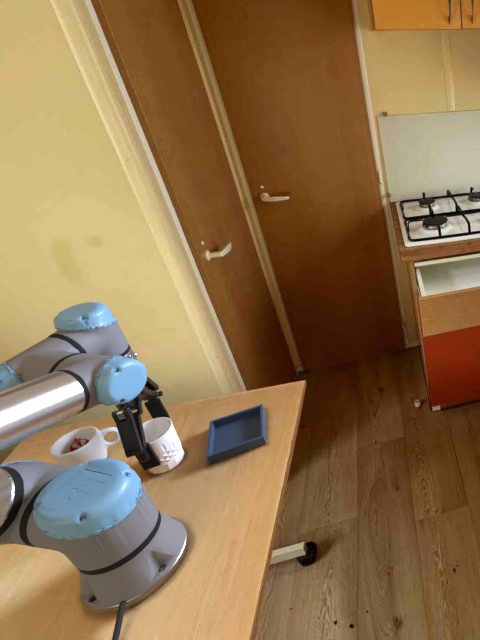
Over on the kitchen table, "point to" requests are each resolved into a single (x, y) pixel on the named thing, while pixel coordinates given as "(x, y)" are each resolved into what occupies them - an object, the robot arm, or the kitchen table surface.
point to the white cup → (163, 443)
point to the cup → (82, 445)
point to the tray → (236, 433)
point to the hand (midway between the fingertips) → (158, 442)
